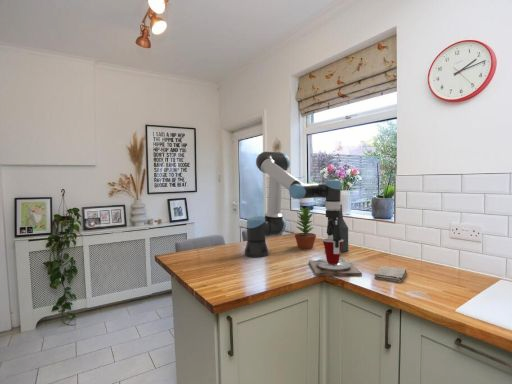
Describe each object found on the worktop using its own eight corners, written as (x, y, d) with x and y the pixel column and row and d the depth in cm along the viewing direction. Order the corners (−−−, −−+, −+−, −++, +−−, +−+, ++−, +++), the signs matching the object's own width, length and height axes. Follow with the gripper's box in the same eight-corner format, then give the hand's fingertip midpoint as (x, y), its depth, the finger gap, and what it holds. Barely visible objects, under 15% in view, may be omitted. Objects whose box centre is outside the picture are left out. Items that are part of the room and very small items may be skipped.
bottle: (349, 249, 191) (349, 204, 190) (346, 252, 183) (346, 205, 182) (334, 247, 197) (334, 203, 196) (330, 250, 188) (330, 205, 187)
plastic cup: (341, 259, 155) (341, 237, 154) (345, 265, 144) (345, 241, 144) (321, 259, 156) (320, 237, 155) (323, 264, 145) (323, 241, 145)
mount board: (315, 276, 139) (315, 269, 139) (308, 263, 161) (308, 256, 161) (361, 276, 138) (361, 268, 138) (348, 263, 160) (348, 256, 160)
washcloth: (373, 279, 134) (373, 273, 134) (380, 269, 149) (380, 263, 149) (402, 284, 127) (402, 277, 127) (406, 273, 143) (406, 267, 142)
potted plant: (290, 246, 203) (290, 203, 202) (309, 244, 208) (309, 203, 207) (299, 250, 189) (299, 205, 188) (320, 248, 194) (320, 204, 193)
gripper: (347, 212, 136) (347, 256, 136) (334, 207, 160) (334, 245, 161) (331, 212, 136) (331, 256, 137) (321, 207, 161) (321, 245, 162)
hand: (333, 250), depth 149 cm, fingers open, 13 cm apart
